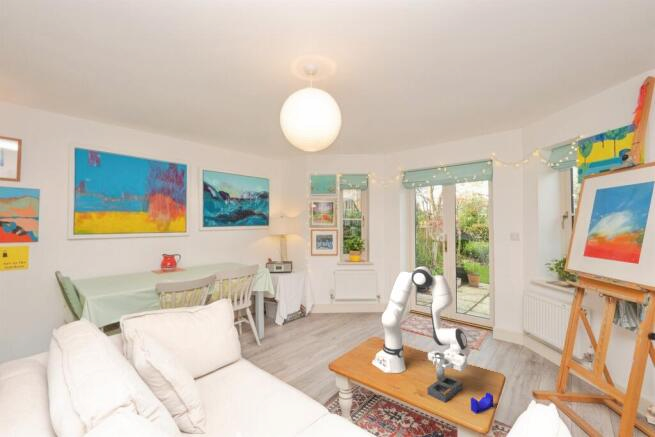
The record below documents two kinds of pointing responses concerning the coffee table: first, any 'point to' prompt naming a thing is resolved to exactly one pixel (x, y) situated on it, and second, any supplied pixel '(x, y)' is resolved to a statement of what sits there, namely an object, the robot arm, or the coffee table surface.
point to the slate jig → (444, 389)
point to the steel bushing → (440, 366)
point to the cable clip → (482, 403)
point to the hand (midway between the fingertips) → (439, 365)
